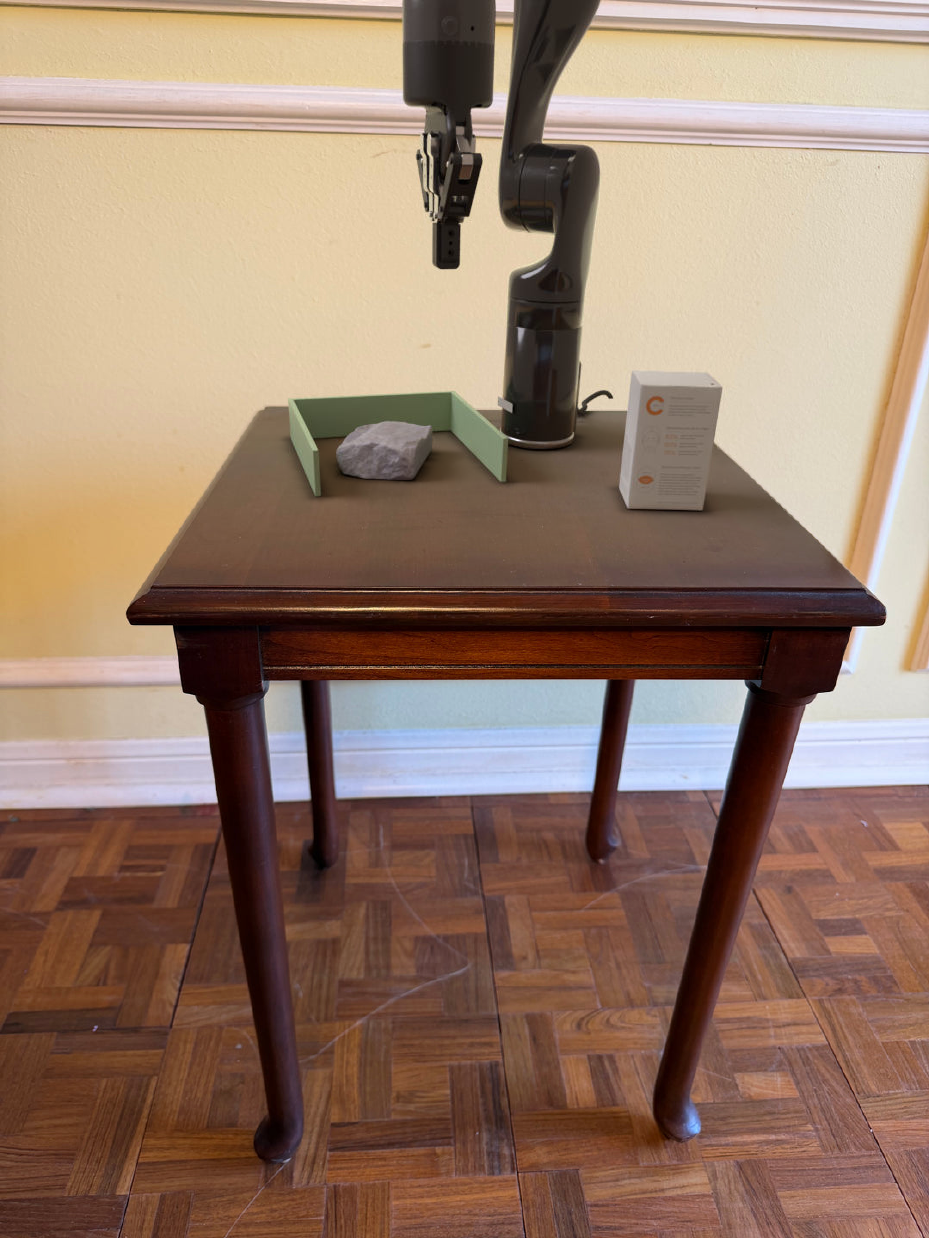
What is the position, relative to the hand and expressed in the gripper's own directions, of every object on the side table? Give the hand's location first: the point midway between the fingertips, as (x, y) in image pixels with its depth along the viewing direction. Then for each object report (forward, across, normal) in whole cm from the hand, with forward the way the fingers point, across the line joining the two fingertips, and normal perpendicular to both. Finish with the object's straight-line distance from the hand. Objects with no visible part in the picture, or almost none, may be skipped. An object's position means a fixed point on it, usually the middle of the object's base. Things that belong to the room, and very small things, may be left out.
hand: (445, 268), depth 80 cm
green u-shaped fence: (+23, +16, +2) cm, 28 cm away
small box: (+23, -3, -23) cm, 33 cm away
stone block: (+23, +15, +3) cm, 28 cm away
